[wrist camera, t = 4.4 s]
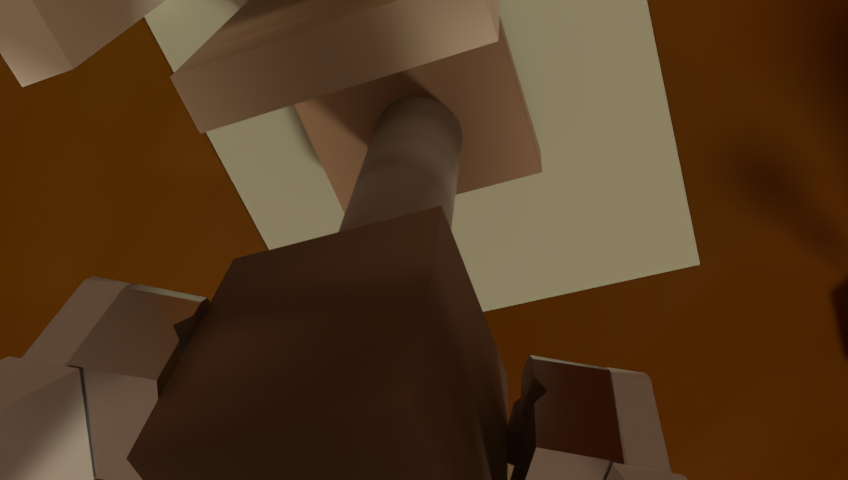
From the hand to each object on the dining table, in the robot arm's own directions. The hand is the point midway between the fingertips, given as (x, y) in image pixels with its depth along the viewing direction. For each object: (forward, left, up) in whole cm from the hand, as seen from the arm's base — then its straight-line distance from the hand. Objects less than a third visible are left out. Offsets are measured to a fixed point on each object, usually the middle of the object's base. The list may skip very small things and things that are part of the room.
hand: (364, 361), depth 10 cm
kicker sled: (0, 0, -9) cm, 9 cm away
